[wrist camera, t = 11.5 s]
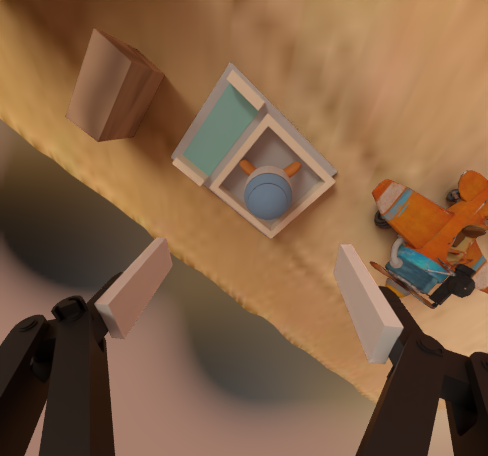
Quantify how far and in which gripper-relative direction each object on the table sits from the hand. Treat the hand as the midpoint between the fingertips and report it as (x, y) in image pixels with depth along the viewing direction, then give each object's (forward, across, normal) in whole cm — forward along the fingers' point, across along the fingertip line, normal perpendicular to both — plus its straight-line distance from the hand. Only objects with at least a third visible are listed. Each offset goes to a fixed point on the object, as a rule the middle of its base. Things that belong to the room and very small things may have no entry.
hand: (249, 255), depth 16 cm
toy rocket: (+25, +1, -2) cm, 25 cm away
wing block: (+26, -22, +13) cm, 36 cm away
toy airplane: (+26, +29, -8) cm, 40 cm away
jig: (+26, -2, +2) cm, 26 cm away
